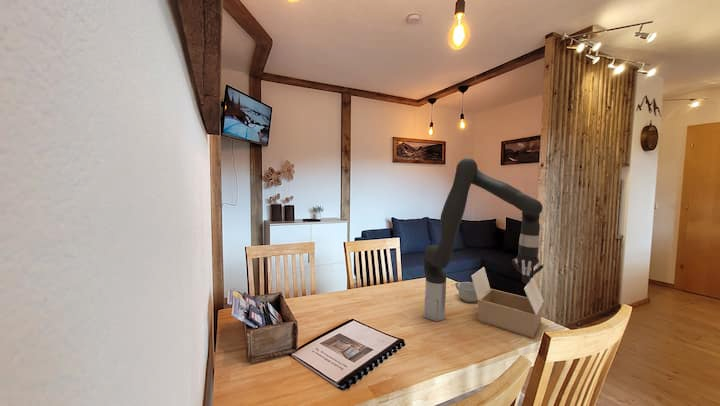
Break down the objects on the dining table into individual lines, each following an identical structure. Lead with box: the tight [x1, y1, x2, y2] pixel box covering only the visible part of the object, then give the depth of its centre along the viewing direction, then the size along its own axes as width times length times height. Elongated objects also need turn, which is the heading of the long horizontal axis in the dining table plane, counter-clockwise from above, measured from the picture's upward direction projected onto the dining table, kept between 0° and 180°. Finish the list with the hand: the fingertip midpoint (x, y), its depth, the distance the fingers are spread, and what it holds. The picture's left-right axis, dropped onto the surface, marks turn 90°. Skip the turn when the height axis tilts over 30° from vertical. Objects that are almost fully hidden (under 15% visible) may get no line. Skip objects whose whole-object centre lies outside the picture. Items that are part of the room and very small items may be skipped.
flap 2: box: [523, 277, 545, 315], centre depth 125 cm, size 17×11×1 cm
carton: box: [477, 288, 543, 340], centre depth 131 cm, size 18×22×10 cm
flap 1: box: [470, 266, 491, 300], centre depth 139 cm, size 17×11×1 cm
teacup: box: [454, 281, 479, 303], centre depth 156 cm, size 14×11×8 cm
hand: (525, 282), depth 129 cm, fingers closed
